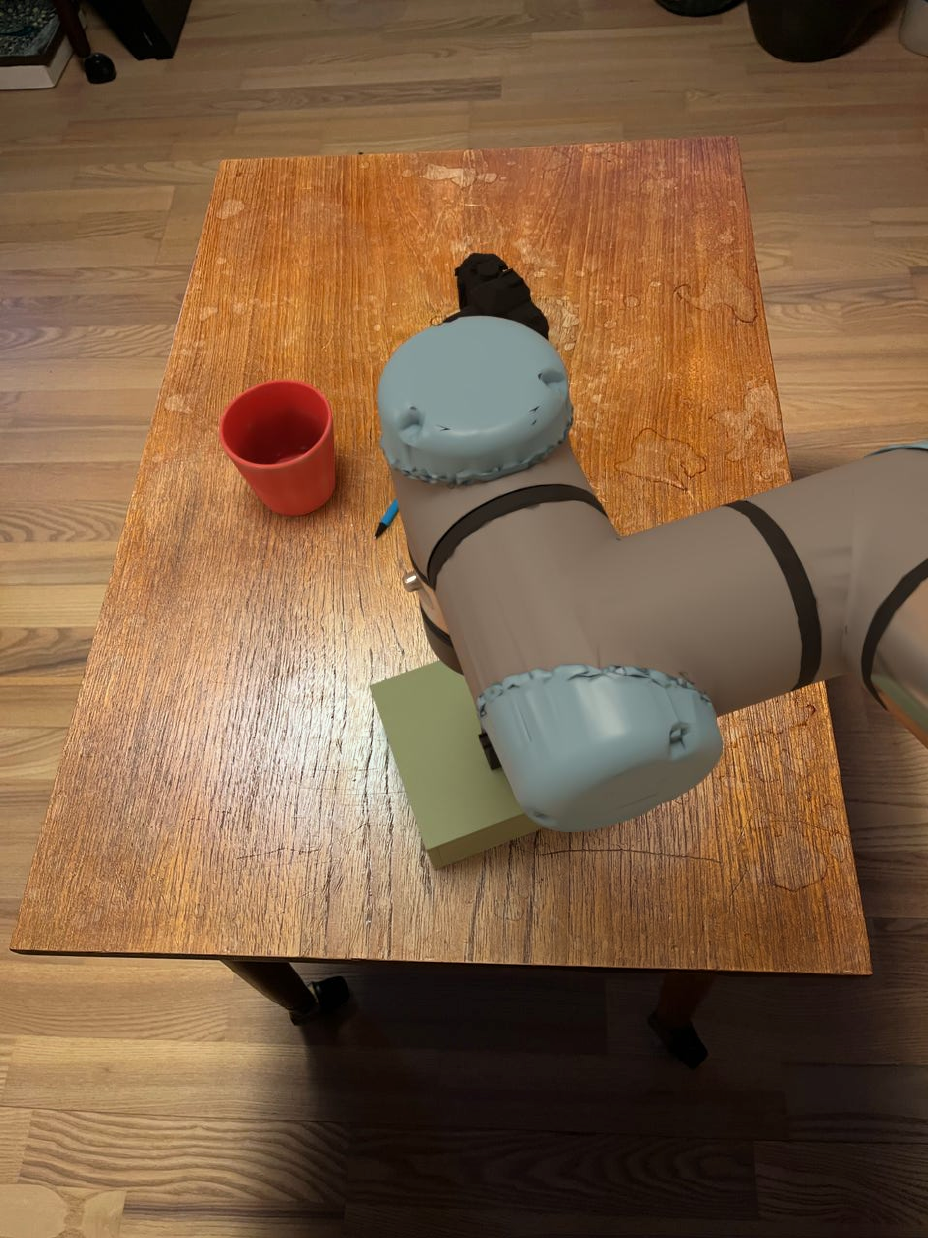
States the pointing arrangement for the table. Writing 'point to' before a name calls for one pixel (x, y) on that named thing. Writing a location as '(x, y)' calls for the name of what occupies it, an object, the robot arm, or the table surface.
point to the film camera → (495, 293)
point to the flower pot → (282, 444)
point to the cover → (442, 755)
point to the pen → (387, 518)
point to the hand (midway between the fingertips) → (505, 755)
